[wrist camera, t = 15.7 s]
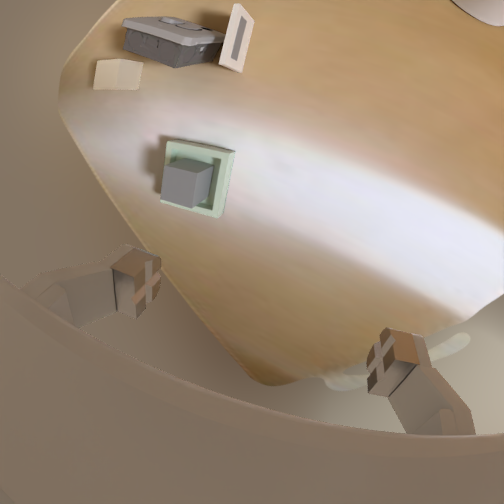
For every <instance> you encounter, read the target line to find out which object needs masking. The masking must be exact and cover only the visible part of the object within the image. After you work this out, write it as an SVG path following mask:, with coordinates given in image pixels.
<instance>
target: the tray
mask: <svg viewBox="0 0 504 504" xmlns="http://www.w3.org/2000/svg"><path fill="white" fill-rule="evenodd" d="M234 155H235V151H231V150H227V149H222V148H218V147H213V146H208V145H203V144H198V143H193V142H188V141H183V140H177V139H174V140H170V141H167V145H166V153H165V161H164V165H167V164H169V163H172V162H175V161H178V160H181V159H184V158H187V159H191V160H196V161H200V162H204V163H208V164H212V165H215V166H214V171H213V177H212V182H211V187H210V193H209V196H208V197H207V198H206V199H204V200H203V201H201V202H200V203H199V204H197V205H196V206H195V207H193V208H192V209H191V208H188V207H185V206H181V205H178V204H175V203H171V202H168V201H165V200H161V199H160V202H161V203H165V204H168V205H172V206H176V207H179V208H183V209H186V210H190V211H193V212H197V213H200V214H204V215H207V216H211V217H214V218H218V217H219V216H220V215H222V214H223V212H224V207H225V201H226V196H227V191H228V186H229V180H230V175H231V170H232V165H233V160H234ZM163 173H164V169H163ZM162 181H163V178H162ZM161 189H162V188H161Z"/></svg>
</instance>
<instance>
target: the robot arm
mask: <svg viewBox="0 0 504 504" xmlns="http://www.w3.org/2000/svg"><path fill="white" fill-rule="evenodd" d="M452 1H453V2H454V3H456V4H457V5H458V6H459V7H460V8H462V9H463V10H464V11H466V12H467V13H469V14H470V15H472V16H473V17H475V18H477V19H478V20H480V21H483V22H485V23H487V24H490V25H494V26H504V0H452ZM160 268H161V258H160V257H159V256H157V255H154V254H152V253H149V252H147V251H144V250H141V249H138V248H136V247H133V246H131V245H128V244H122V245H121V246H120V247H118V248H117V249H116V250H114V251H113V252H112V253H110V254H109V255H108V256H106V257H105V258H104V259H102V260H101V261H100V262H98V263H97V262H90V263H85V264H80V265H76V266H71V267H66V268H61V269H57V270H52V271H48V272H43V273H40V274H38V275H37V276H36V277H34V278H33V279H32V280H30V281H29V282H28V283H26V284H25V285H24V286H22V287H21V288H20V289H19V288H18V287H16V286H15V285H14V284H12V283H11V282H10V281H8V280H7V279H5V277H3V276H2V275H1V274H0V504H504V433H497V434H483V435H476V433H475V428H474V423H473V419H472V415H471V411H470V409H469V408H468V407H467V405H466V404H465V403H464V402H463V400H462V399H461V398H460V397H459V396H458V394H457V393H456V392H455V391H454V390H453V388H452V387H451V386H450V385H449V384H448V382H447V381H446V380H445V379H444V378H443V377H442V376H441V374H440V373H439V372H438V371H437V370H436V369H435V368H432V365H431V362H430V358H429V355H428V351H427V348H426V344H425V341H424V338H423V337H422V336H421V335H417V334H413V333H407V332H403V331H399V330H395V329H391V328H387V327H386V328H385V329H384V330H383V331H382V333H381V334H380V341H379V342H377V343H375V344H374V345H373V346H372V348H371V350H370V352H369V354H368V357H367V363H366V364H367V370H368V371H369V373H370V376H369V377H368V378H367V383H368V393H369V394H374V395H379V396H384V397H389V398H388V400H389V401H390V403H391V405H392V407H393V409H394V411H395V412H396V414H397V416H398V418H399V420H400V422H401V424H402V425H403V427H404V429H405V431H406V433H407V434H405V433H394V432H393V433H392V432H384V431H375V430H368V429H361V428H354V427H348V426H342V425H336V424H331V423H326V422H321V421H316V420H311V419H307V418H303V417H298V416H294V415H290V414H286V413H282V412H278V411H275V410H271V409H268V408H264V407H261V406H257V405H254V404H250V403H247V402H244V401H241V400H238V399H235V398H232V397H229V396H226V395H223V394H220V393H217V392H214V391H211V390H209V389H206V388H203V387H201V386H198V385H195V384H193V383H190V382H188V381H185V380H183V379H180V378H178V377H175V376H173V375H171V374H168V373H166V372H164V371H161V370H159V369H157V368H155V367H153V366H150V365H148V364H146V363H144V362H142V361H140V360H138V359H135V358H133V357H131V356H129V355H127V354H125V353H123V352H121V351H119V350H117V349H115V348H114V347H112V346H110V345H108V344H106V343H104V342H102V341H100V340H99V339H97V338H95V337H93V336H91V335H90V334H88V333H86V332H85V331H83V330H81V329H79V328H80V327H82V326H85V325H87V324H90V323H92V322H94V321H97V320H99V319H102V318H104V317H106V316H109V315H111V314H114V313H116V312H117V311H118V312H120V313H122V314H125V315H127V316H129V317H132V318H134V319H137V318H138V317H139V316H140V315H141V314H142V312H143V311H144V310H145V309H146V303H148V302H151V301H153V300H154V298H155V297H156V296H157V293H158V291H159V288H160V284H161V277H160V275H159V273H158V270H159V269H160Z"/></svg>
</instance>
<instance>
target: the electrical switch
mask: <svg viewBox="0 0 504 504" xmlns="http://www.w3.org/2000/svg"><path fill="white" fill-rule="evenodd" d="M121 26H123V27H127V33H126V40H125V43H124V46H123V49H124V50H127V51H130V52H133V53H136V54H139V55H141V56H144V57H147V58H150V59H152V60H155V61H158V62H160V63H163V64H165V65H168V66H170V67H173V68H175V67H176V68H179V67H184V66H188V65H193V64H199V63H204V62H210V61H213V59H214V57H215V54H216V52H217V51H218V50H219V47H220V45H221V43H222V42H223V43H224V40H225V36H226V34H223V33H221V32H218V31H215V30H212V29H210V28H207V27H204V26H201V25H198V24H195V23H192V22H188V21H185V20H182V19H178V18H175V17H137V18H126V19H124V20H123V23H122V25H121ZM157 48H158V49H157ZM133 49H134V50H133ZM177 61H178V62H177ZM176 64H177V65H176Z"/></svg>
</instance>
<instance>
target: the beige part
mask: <svg viewBox="0 0 504 504" xmlns="http://www.w3.org/2000/svg"><path fill="white" fill-rule="evenodd" d="M143 63H144V62H138V61H133V60H126V59H109V60H99V61H97V66H96V72H95V78H94V85H93V90H139V84H140V78H141V73H142V68H143Z"/></svg>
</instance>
